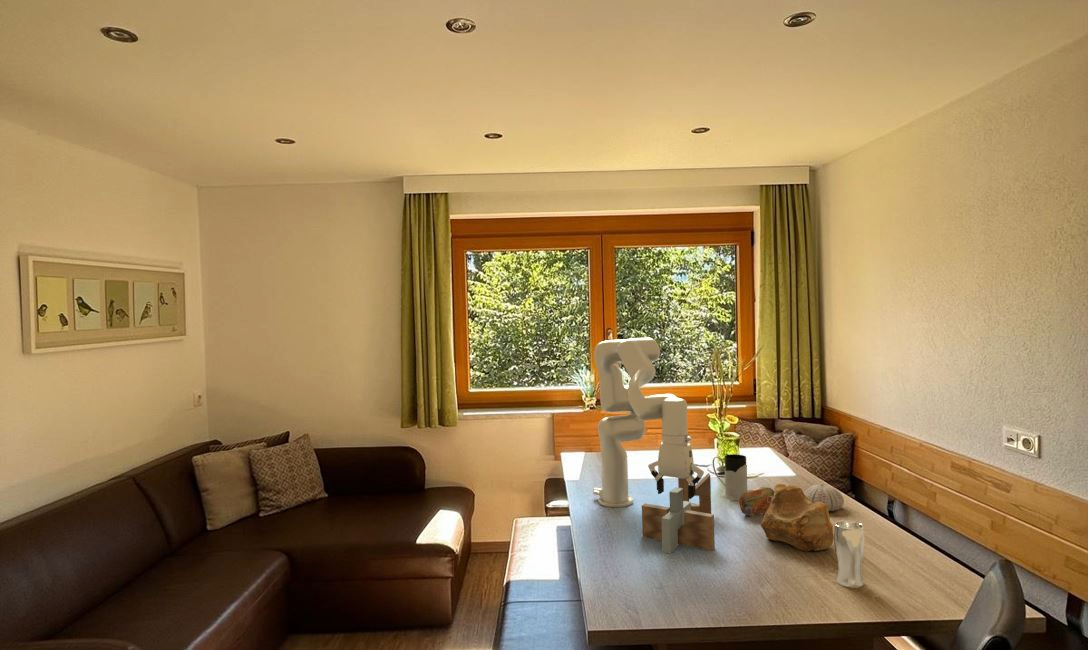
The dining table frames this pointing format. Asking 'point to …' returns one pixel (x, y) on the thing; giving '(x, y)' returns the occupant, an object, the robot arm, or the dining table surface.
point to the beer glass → (849, 552)
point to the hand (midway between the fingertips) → (675, 495)
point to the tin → (756, 501)
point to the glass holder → (734, 476)
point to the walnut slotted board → (691, 534)
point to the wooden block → (698, 494)
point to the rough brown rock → (797, 520)
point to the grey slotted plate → (673, 520)
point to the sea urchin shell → (825, 496)
